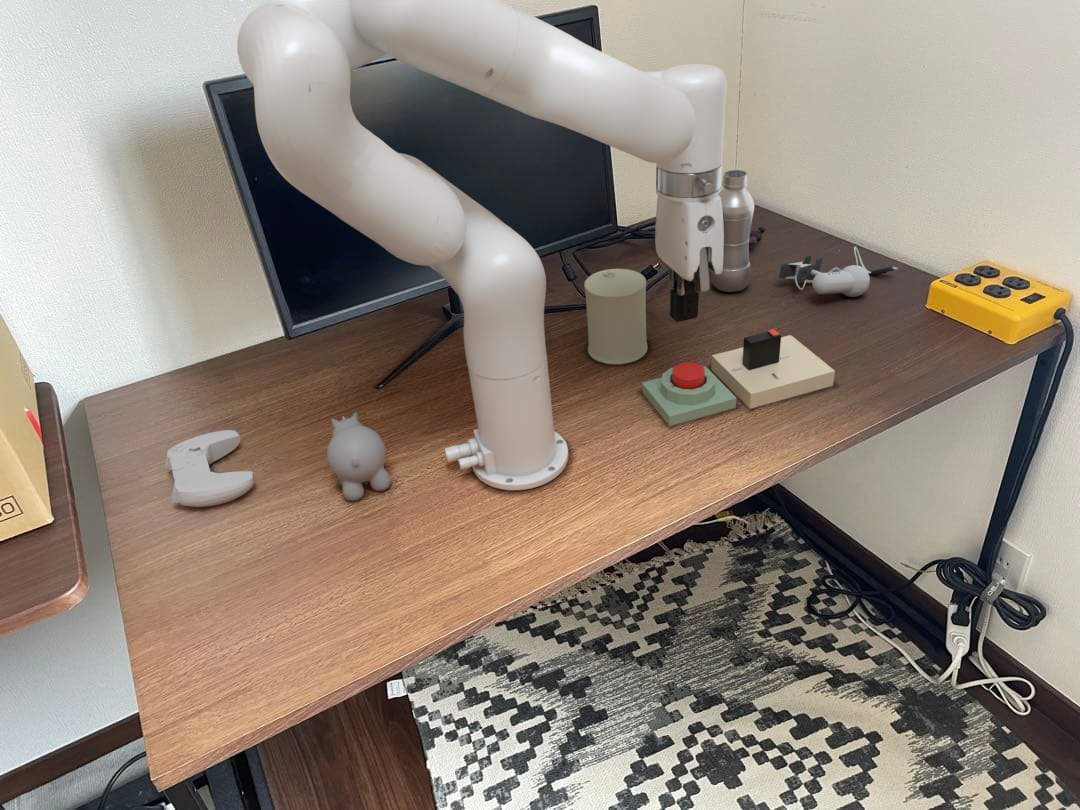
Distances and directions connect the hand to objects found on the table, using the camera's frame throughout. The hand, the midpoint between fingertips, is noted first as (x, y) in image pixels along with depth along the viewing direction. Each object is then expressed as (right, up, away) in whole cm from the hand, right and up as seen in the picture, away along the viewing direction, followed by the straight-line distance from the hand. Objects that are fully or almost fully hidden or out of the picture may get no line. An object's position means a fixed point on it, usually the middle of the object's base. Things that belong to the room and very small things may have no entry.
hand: (683, 317), depth 105 cm
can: (-7, -3, +21) cm, 22 cm away
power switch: (+2, -11, +8) cm, 13 cm away
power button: (+2, -8, +6) cm, 10 cm away
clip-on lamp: (+32, +8, +31) cm, 45 cm away
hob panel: (+14, -8, +10) cm, 19 cm away
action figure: (+15, +16, +44) cm, 49 cm away
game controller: (-62, -22, +2) cm, 66 cm away
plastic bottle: (+14, +8, +34) cm, 38 cm away
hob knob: (+13, -6, +9) cm, 16 cm away
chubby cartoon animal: (-42, -21, +1) cm, 47 cm away
